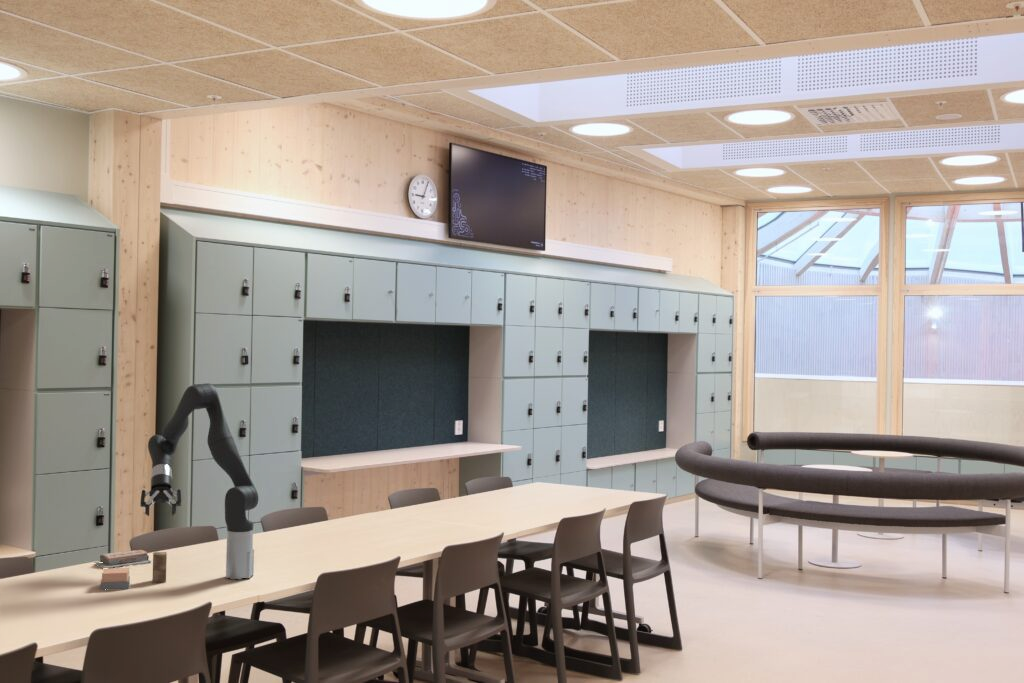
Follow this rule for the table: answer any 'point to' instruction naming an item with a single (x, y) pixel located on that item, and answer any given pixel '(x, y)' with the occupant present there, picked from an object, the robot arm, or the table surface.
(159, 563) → the brown block
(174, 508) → the robot arm
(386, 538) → the table surface
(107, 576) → the upper slab
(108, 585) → the lower slab
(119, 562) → the packaged product
